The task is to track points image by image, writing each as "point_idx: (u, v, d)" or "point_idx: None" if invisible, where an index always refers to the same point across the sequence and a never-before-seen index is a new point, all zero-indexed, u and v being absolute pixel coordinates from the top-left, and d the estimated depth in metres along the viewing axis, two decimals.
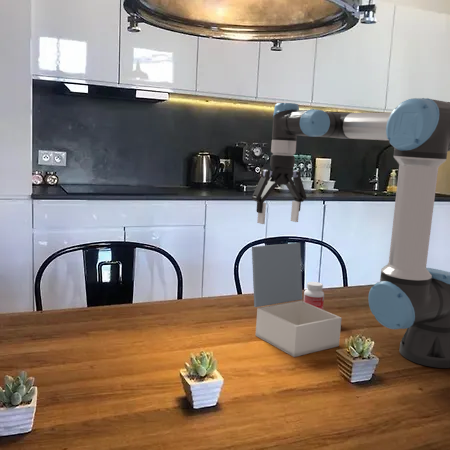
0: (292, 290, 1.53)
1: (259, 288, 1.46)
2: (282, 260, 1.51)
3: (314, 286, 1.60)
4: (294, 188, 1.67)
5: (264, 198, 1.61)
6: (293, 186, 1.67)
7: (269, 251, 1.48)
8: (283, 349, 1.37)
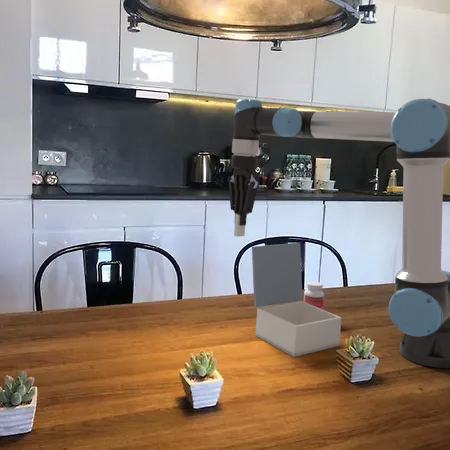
0: (292, 290, 1.53)
1: (259, 288, 1.46)
2: (282, 260, 1.51)
3: (314, 286, 1.60)
4: (241, 196, 1.52)
5: (235, 207, 1.55)
6: (241, 193, 1.52)
7: (269, 251, 1.48)
8: (283, 349, 1.37)
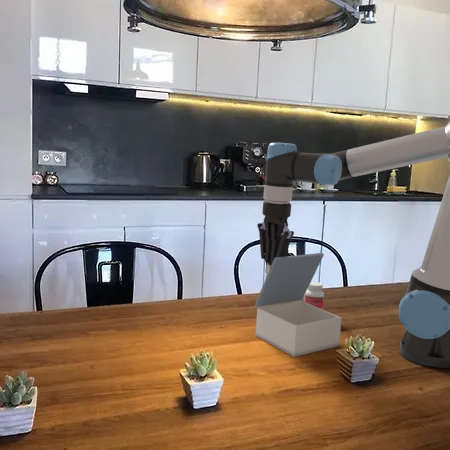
0: (296, 293, 1.51)
1: (266, 292, 1.44)
2: (299, 269, 1.45)
3: (314, 286, 1.60)
4: (273, 245, 1.42)
5: (266, 257, 1.44)
6: (273, 242, 1.42)
7: (290, 263, 1.41)
8: (283, 349, 1.37)
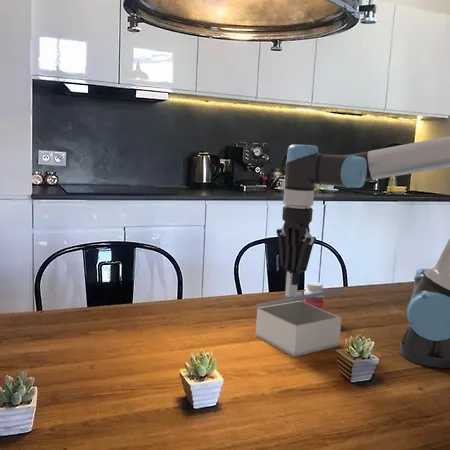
0: None
1: None
2: None
3: (314, 286, 1.60)
4: (294, 252, 1.35)
5: (286, 264, 1.38)
6: (294, 249, 1.35)
7: None
8: (283, 349, 1.37)
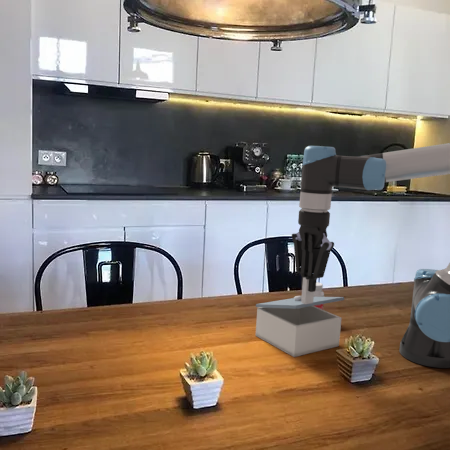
0: None
1: None
2: None
3: None
4: (310, 258, 1.30)
5: (302, 270, 1.33)
6: (311, 254, 1.30)
7: None
8: (283, 349, 1.37)
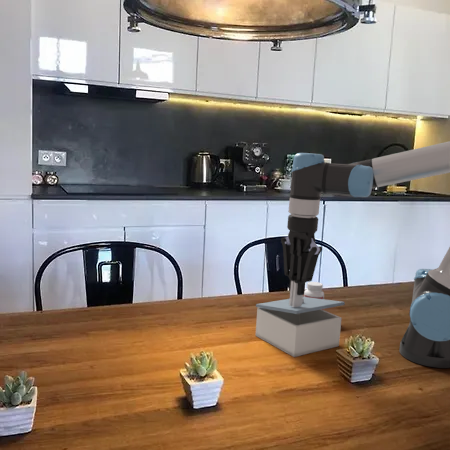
0: None
1: None
2: None
3: (314, 286, 1.60)
4: (299, 262, 1.33)
5: (290, 274, 1.36)
6: (299, 259, 1.33)
7: None
8: (283, 349, 1.37)
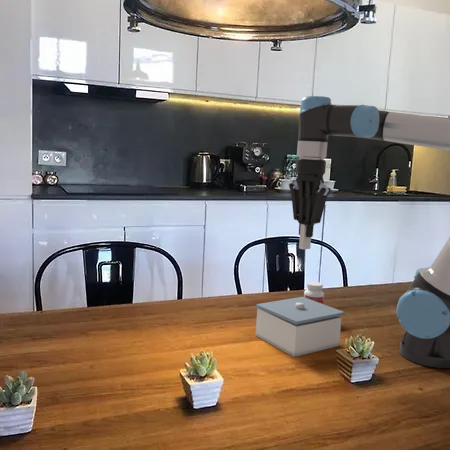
0: None
1: None
2: None
3: (314, 286, 1.60)
4: (308, 204, 1.36)
5: (300, 217, 1.39)
6: (308, 201, 1.36)
7: None
8: (283, 349, 1.37)
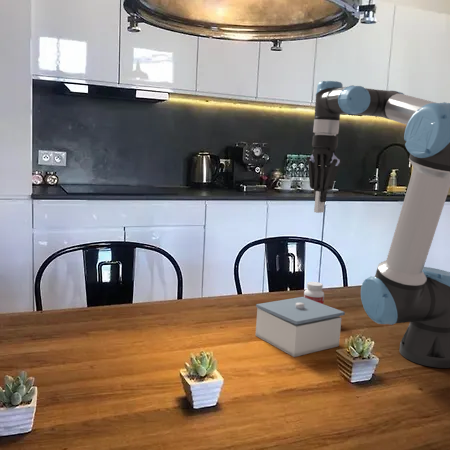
0: None
1: None
2: None
3: (314, 286, 1.60)
4: (322, 173, 1.60)
5: (315, 185, 1.63)
6: (322, 171, 1.60)
7: None
8: (283, 349, 1.37)
